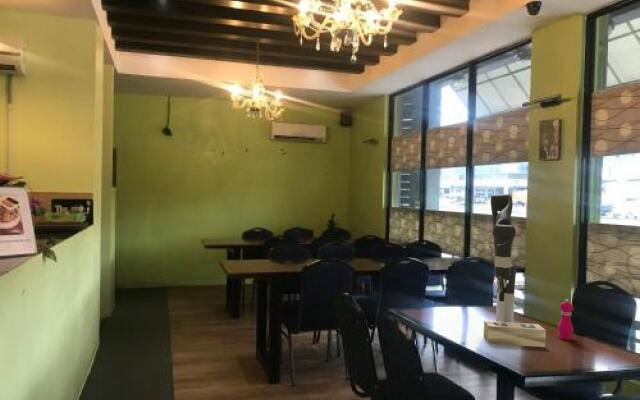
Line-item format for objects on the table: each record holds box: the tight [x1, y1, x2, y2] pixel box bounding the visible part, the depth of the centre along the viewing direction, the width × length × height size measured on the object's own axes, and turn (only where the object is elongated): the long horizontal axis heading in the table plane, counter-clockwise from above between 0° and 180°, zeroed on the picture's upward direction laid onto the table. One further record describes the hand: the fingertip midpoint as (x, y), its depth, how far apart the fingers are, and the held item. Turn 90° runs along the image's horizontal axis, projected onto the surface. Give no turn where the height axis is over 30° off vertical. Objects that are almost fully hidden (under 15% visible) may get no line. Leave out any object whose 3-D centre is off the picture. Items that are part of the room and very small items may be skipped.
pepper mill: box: [557, 298, 574, 341], centre depth 259 cm, size 7×7×20 cm
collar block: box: [483, 320, 547, 348], centre depth 248 cm, size 12×26×8 cm, turn 83°
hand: (501, 301), depth 248 cm, fingers closed
